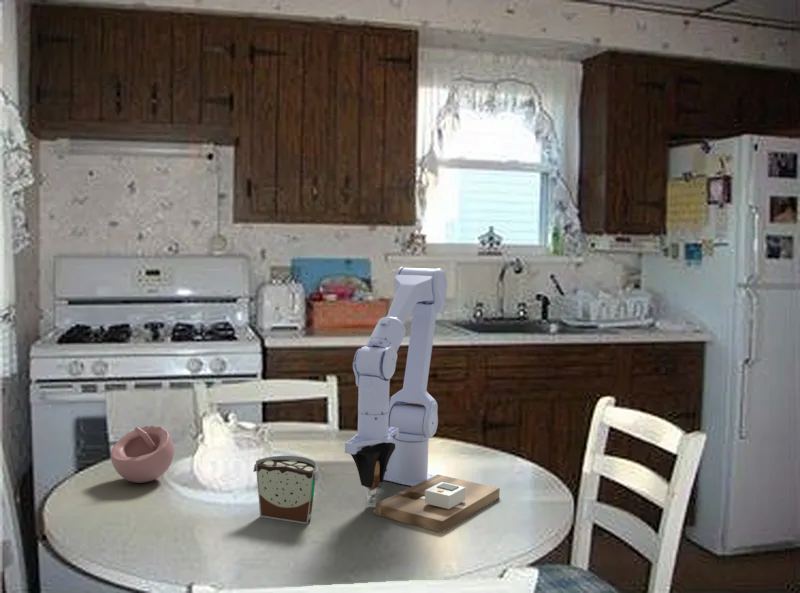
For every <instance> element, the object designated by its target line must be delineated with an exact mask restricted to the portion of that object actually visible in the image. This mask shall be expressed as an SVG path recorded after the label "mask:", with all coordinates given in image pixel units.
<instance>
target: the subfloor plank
mask: <svg viewBox="0 0 800 593" xmlns="http://www.w3.org/2000/svg"><path fill="white" fill-rule="evenodd" d="M441 482H445V483H449V484H454V485H458V486H462V487H466V490H465V500H464V501H462V502H461V503H459V504H457V505H455V506H454V507H452V508H450V509H446V508H442V507H438V506H434V505H430V504H426V503H425V490H427V489H429V488H431V487H433V486H435V485H437V484H439V483H441ZM498 498H499V499H500V487H496V486H492V485H487V484H483V483H478V482H474V481H470V480H465V479H459V478H455V477H451V476H446V475H441V474H435V476H433V477H431V478H429V479H427V480H425V481H423V482H421V483H419V484H416V485H414V486H409V487H408V488H405V489H404V490H400V491H399V492H397V493H395V494H393V495H391V496H389V497H387V498H385V499H383V500H381V501H378V502H376V503H374V504H375V512H374V515H376V516H379V517H382V518H386V519H388V520H389V519H390V520H393V521H397V522H402V523H405V524H409V525H412V526H416V527H420V528H422V529H423V528H424V529H428V530H431V531H434V532H435V531H436V532H439V533H444V532H445V530H446V531H447V530H448V528H449V529H450V528H452V527H454V526H456V525H457V524H459V523H460V522H462V521H464V520H465V519H467V518H469V517H470V516H472V515H474V514H475V513H477V512H479V511H480V510H482V509H483V507H484V508H486V507H487V506H488V504H489V505H490V504H492V503H493V501H494V502H495V501H497V500H499V499H498ZM496 499H497V500H496ZM491 502H492V503H491ZM481 508H482V509H481ZM478 510H479V511H478ZM476 511H477V512H476ZM473 513H474V514H473ZM471 514H472V515H471ZM468 516H469V517H468ZM463 519H464V520H463ZM453 525H454V526H453ZM443 531H444V532H443Z"/></svg>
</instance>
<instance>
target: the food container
mask: <svg viewBox="0 0 800 593" xmlns="http://www.w3.org/2000/svg"><path fill="white" fill-rule="evenodd" d="M255 472H256V481H257V482H256V483H257V495H258V508H259V517H260V518H267V519H273V520H278V521H279V520H280V521H285V522H291V523H296V524H297V523H298V524H304V525H308V524H310V523H311V519H312V513H313V512H312V511H313V502H314V496H315V495H314V494H315V486H316V481H318V480H319V479H320V470H319V467H318V464H317V462H316V461H315V460H314V459H310V458H308V457H305V456H304V457H303V456H298V455H276V456H274V455H273V456H268V457H264V458H259V459H258V460H256V461H255V464H254V466H253V473H255Z"/></svg>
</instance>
